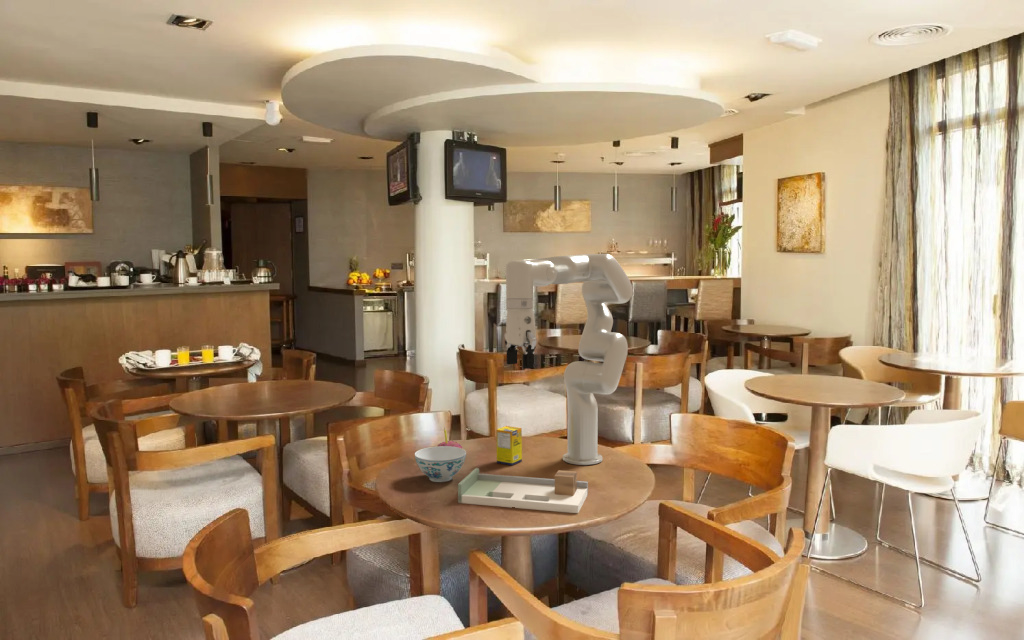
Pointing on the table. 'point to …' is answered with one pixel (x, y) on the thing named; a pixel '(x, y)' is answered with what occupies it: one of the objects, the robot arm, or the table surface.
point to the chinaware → (440, 462)
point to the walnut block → (565, 483)
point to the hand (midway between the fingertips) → (519, 366)
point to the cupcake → (449, 442)
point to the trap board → (519, 492)
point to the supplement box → (509, 445)
